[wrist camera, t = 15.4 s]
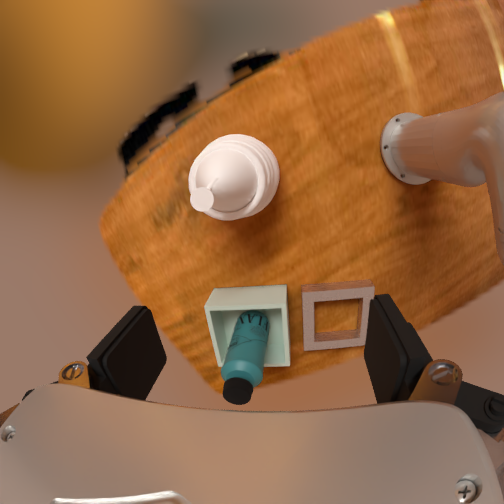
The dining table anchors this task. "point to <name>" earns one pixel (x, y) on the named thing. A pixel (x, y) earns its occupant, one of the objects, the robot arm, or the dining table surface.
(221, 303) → the bin
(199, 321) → the dining table surface
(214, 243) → the dining table surface
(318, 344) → the socket frame
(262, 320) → the beverage bottle
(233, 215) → the honey pot
